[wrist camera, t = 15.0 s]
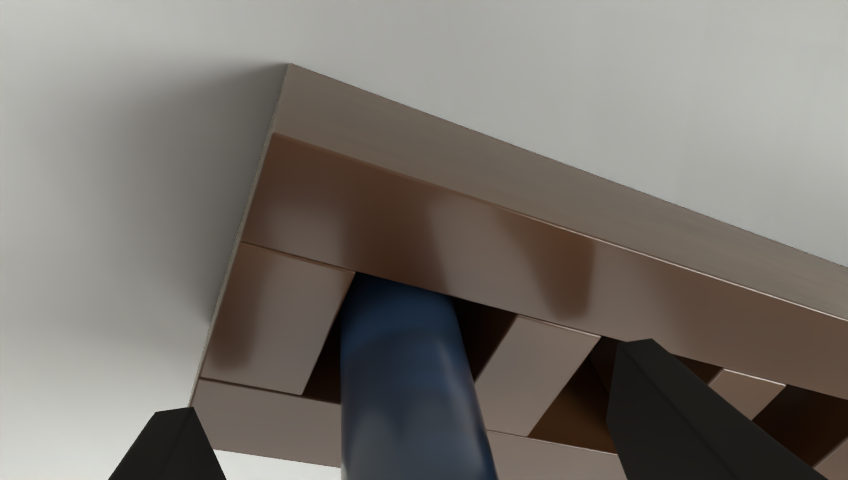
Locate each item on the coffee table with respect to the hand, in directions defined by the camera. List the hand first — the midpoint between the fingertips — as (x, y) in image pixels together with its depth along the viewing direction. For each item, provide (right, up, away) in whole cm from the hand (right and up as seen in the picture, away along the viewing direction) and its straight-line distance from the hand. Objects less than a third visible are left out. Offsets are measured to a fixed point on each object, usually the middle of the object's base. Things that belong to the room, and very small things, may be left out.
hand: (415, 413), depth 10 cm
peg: (-1, +3, +4) cm, 5 cm away
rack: (+4, +1, +6) cm, 7 cm away
